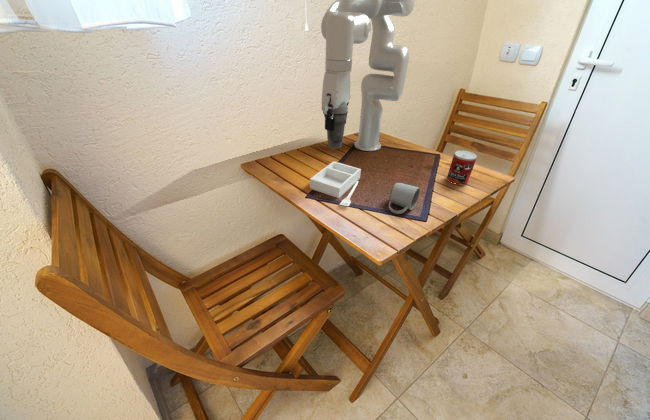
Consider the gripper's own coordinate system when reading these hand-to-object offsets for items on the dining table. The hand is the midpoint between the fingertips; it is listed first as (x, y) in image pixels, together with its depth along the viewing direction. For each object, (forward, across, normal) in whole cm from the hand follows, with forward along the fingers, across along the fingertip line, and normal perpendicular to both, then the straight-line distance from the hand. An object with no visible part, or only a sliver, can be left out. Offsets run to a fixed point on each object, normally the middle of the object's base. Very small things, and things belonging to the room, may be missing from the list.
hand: (335, 126), depth 92 cm
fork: (+23, +1, +8) cm, 25 cm away
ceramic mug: (+23, -1, +26) cm, 34 cm away
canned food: (+23, -30, +38) cm, 54 cm away
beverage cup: (+7, 0, 0) cm, 7 cm away
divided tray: (+23, -2, 0) cm, 23 cm away
